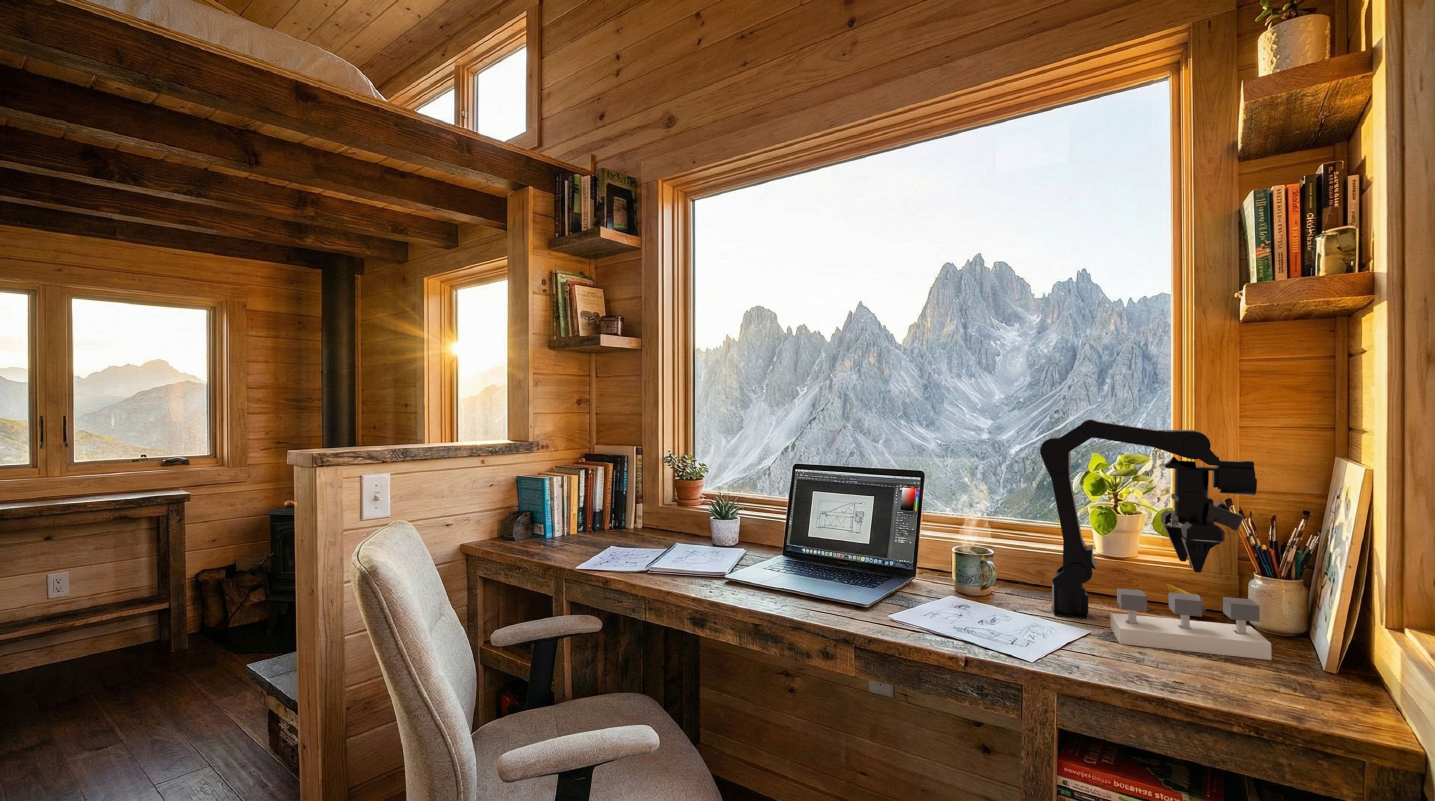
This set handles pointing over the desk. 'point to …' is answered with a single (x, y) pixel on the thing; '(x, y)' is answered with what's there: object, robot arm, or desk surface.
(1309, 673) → the desk surface
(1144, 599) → the button
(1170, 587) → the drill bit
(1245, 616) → the button
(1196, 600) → the button middle
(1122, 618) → the console
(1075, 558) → the robot arm
